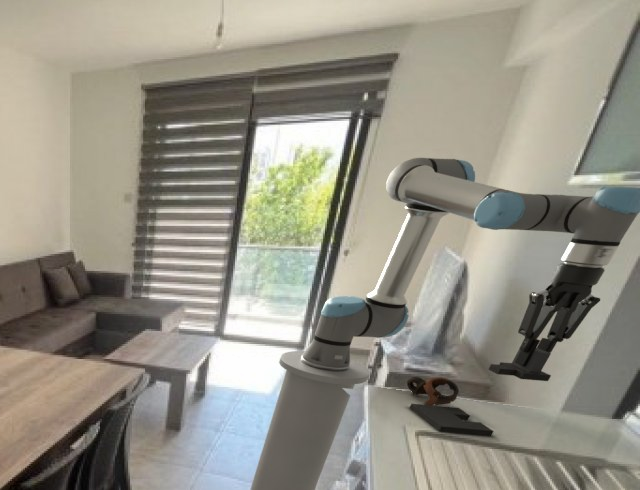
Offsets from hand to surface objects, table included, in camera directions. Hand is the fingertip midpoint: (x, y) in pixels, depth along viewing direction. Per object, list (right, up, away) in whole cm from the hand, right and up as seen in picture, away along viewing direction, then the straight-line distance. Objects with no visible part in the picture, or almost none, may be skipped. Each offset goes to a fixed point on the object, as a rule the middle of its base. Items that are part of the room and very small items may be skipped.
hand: (527, 364), depth 117 cm
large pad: (-13, -14, +8) cm, 20 cm away
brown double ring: (-9, -8, +20) cm, 23 cm away
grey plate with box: (-2, -2, +1) cm, 3 cm away
